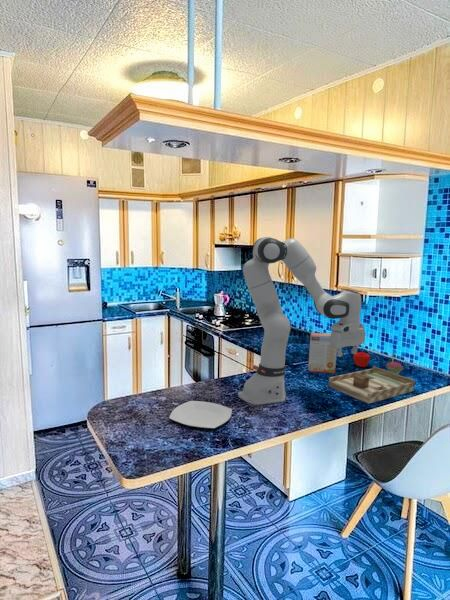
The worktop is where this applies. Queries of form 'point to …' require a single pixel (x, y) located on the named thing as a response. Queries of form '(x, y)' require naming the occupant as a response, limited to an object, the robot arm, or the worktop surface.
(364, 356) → the apple
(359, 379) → the walnut block
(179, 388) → the worktop surface
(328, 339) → the cracker box
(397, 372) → the cupcake
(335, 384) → the trap deck
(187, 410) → the plate
